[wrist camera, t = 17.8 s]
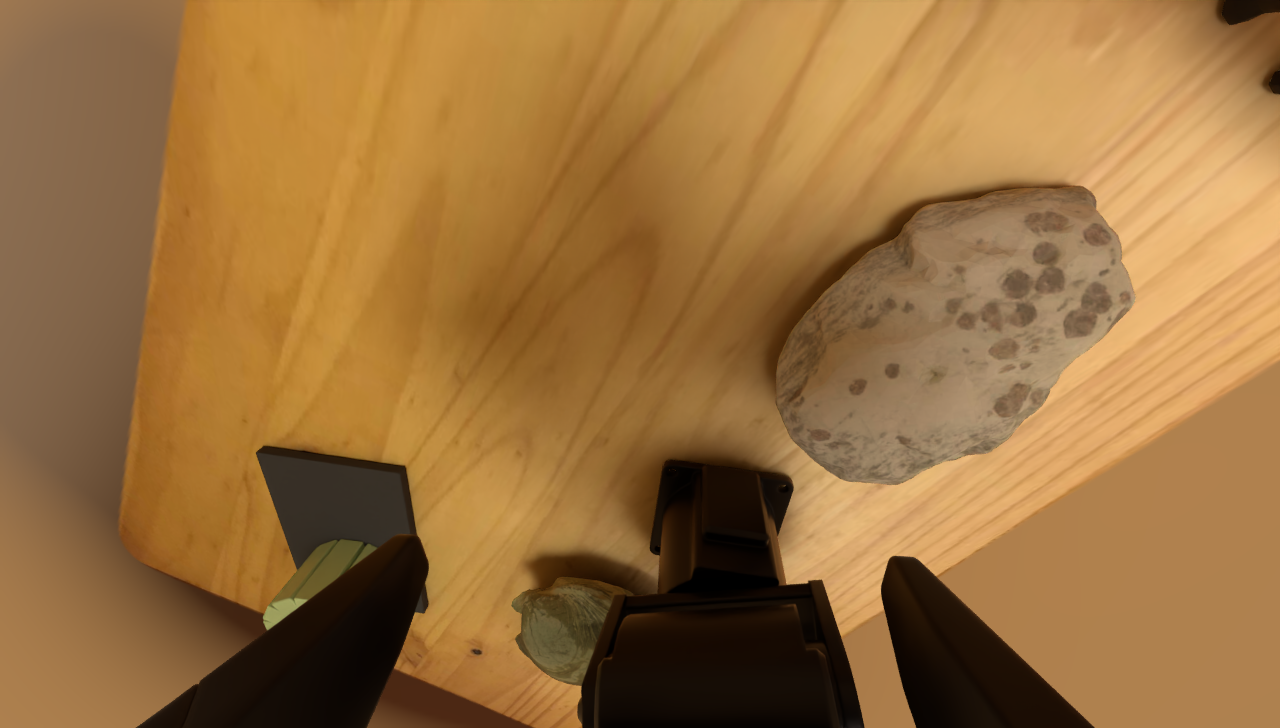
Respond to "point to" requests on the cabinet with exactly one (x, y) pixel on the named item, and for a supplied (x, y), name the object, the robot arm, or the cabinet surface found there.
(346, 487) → the pad
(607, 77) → the cabinet surface
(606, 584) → the seashell
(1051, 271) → the decorative stone
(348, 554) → the ring
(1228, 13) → the action figure
